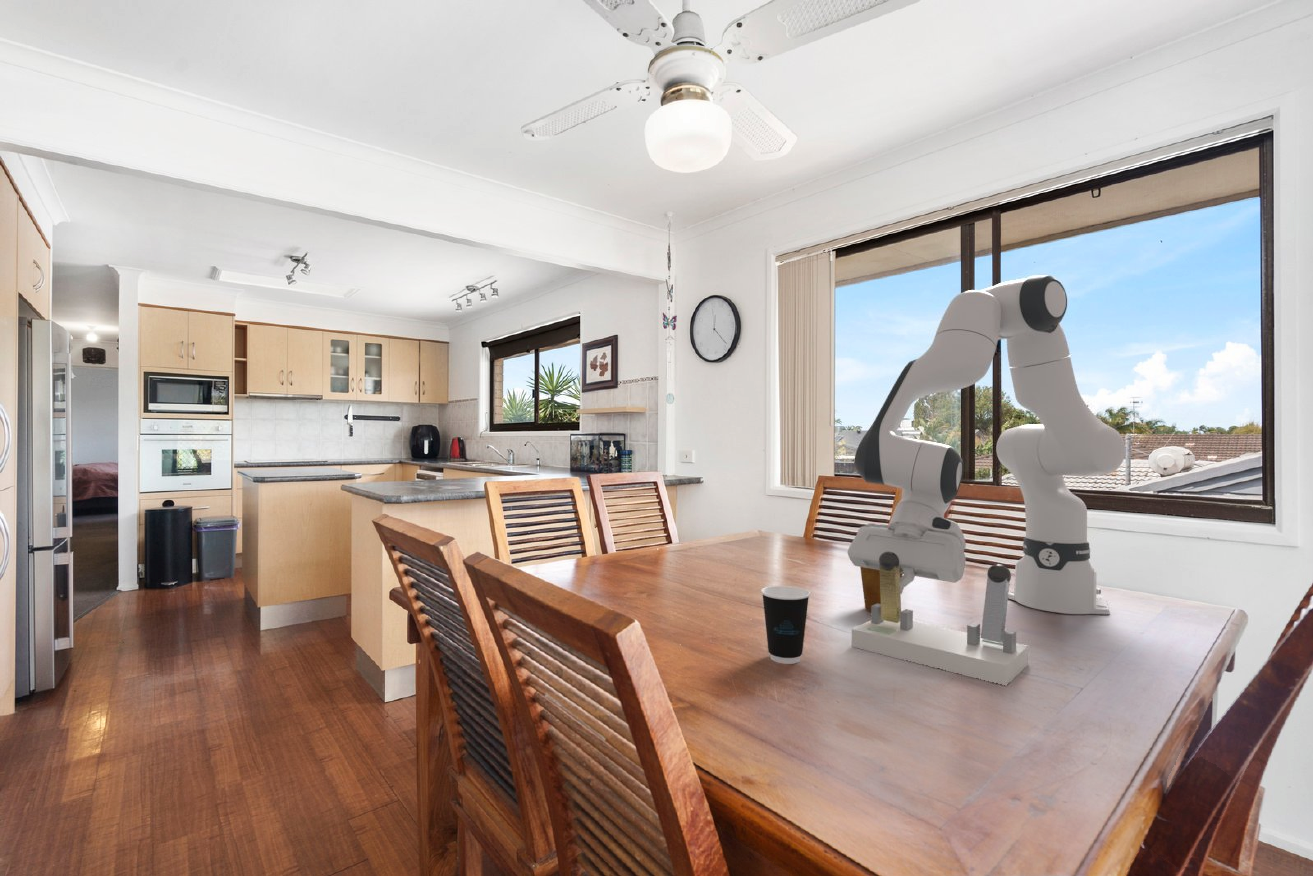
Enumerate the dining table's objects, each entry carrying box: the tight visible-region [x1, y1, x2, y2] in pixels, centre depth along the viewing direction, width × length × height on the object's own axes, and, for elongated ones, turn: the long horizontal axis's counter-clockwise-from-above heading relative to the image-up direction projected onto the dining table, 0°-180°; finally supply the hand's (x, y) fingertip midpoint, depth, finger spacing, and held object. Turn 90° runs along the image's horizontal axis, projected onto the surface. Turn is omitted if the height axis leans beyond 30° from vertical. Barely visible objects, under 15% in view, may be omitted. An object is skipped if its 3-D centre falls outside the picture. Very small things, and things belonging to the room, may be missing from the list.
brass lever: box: [879, 551, 902, 623], centre depth 108 cm, size 3×3×12 cm
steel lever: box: [980, 563, 1012, 643], centre depth 99 cm, size 3×3×12 cm
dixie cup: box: [760, 585, 811, 665], centre depth 101 cm, size 8×8×11 cm
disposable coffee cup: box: [859, 567, 904, 613], centre depth 129 cm, size 10×10×12 cm
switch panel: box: [851, 604, 1029, 687], centre depth 103 cm, size 12×24×6 cm, turn 46°
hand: (891, 591), depth 110 cm, fingers closed, pressing on brass lever
